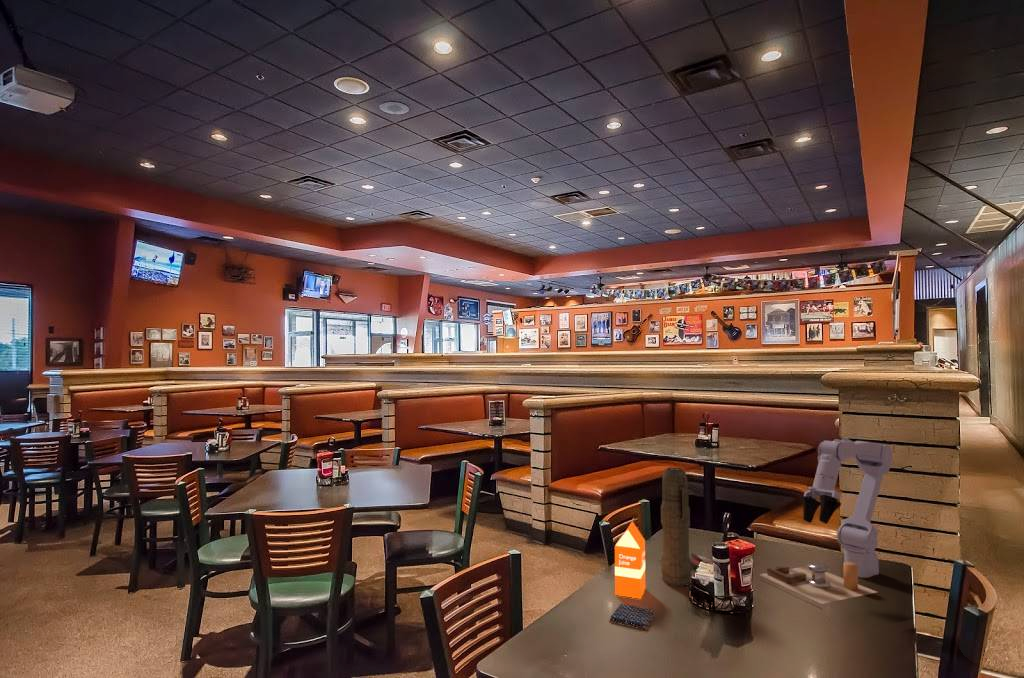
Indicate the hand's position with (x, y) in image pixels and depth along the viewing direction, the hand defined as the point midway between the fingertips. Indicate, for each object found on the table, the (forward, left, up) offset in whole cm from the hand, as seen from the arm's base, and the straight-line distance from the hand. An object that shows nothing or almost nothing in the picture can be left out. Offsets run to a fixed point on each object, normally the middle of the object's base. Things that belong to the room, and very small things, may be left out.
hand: (814, 521), depth 167 cm
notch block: (0, -11, -20) cm, 23 cm away
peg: (-11, +2, -20) cm, 23 cm away
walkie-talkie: (+16, -30, -22) cm, 41 cm away
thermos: (+31, -24, -22) cm, 45 cm away
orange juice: (+49, -22, -22) cm, 58 cm away
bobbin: (-5, -3, -20) cm, 21 cm away
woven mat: (+58, -7, -22) cm, 63 cm away
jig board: (-5, -4, -22) cm, 22 cm away
